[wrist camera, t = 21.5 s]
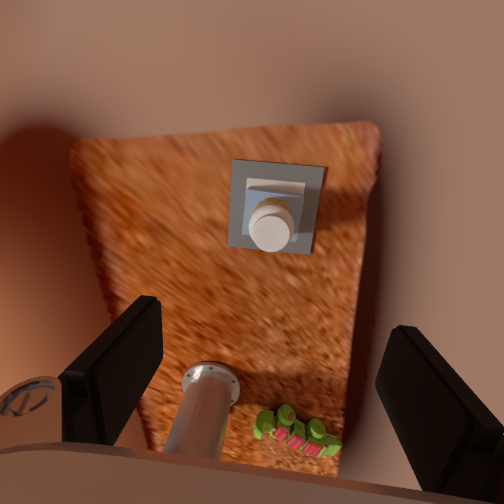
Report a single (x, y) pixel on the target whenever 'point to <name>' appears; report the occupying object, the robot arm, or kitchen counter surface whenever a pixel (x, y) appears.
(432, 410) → the robot arm
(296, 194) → the light blue block
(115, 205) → the kitchen counter surface
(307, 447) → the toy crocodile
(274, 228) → the supplement bottle
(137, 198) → the kitchen counter surface
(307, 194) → the base plate
